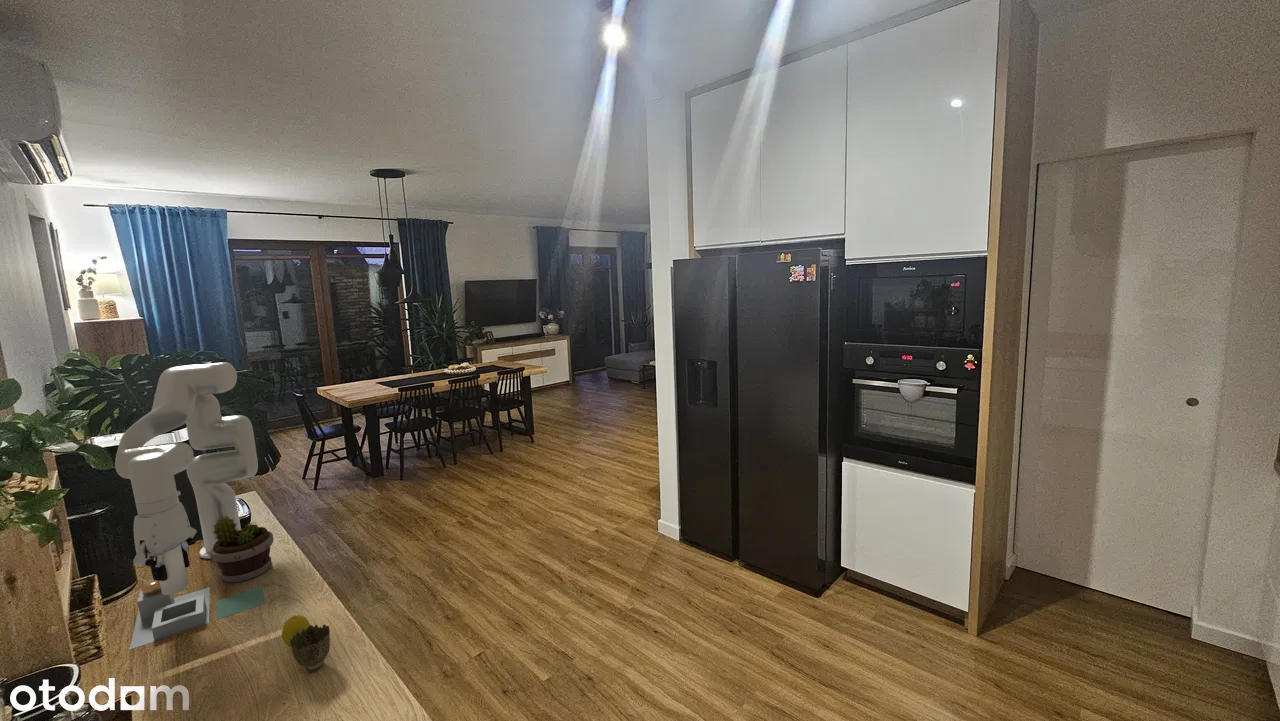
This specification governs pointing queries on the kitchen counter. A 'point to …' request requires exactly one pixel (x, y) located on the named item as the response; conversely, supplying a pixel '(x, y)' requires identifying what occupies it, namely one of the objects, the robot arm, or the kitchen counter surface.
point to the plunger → (151, 587)
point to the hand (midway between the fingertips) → (172, 572)
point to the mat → (240, 602)
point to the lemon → (294, 627)
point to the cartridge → (174, 571)
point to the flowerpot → (241, 550)
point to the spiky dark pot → (311, 647)
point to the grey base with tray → (169, 615)
